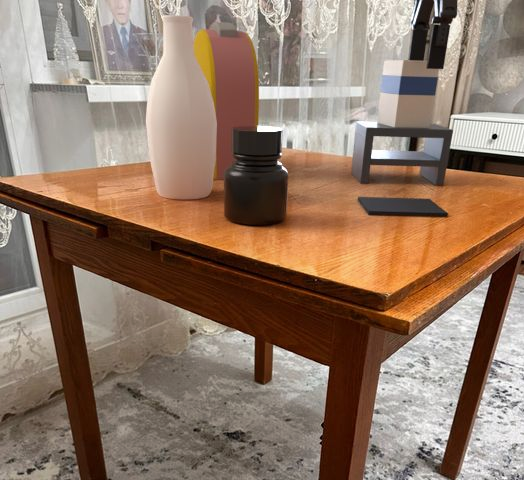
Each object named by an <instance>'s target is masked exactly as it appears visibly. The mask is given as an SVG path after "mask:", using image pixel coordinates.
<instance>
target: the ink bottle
mask: <svg viewBox="0 0 524 480" xmlns="http://www.w3.org/2000/svg"><path fill="white" fill-rule="evenodd" d="M283 131H284V130H283V129H282V128H281V127H274V126H261V125H258V126H239V127H233V128H232V157H233V158H235V161H233V162H232V163H231V165H230V166H228V167H227V168H226V169H225V172H224V179H223V215H224V218H225V219H226V220H228V221H230V222H233V223H237V224H243V225H248V226H249V225H250V226H252V225H253V226H265V225H273V224H277V223H280V222H283V221H284V220H286V218H287V215H288V214H287V213H288V195H289V194H288V193H289V173H288V170H287V168H285V167H284V166H283V164H282V163H281V162H279V160H281V158H282V153H283Z"/></svg>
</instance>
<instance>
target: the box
mask: <svg viewBox="0 0 524 480" xmlns="http://www.w3.org/2000/svg"><path fill="white" fill-rule="evenodd" d="M427 61H428V60H423V61H414V60H409V59H391V60H390V59H385V60H383V68H382V75H381V83H380V90H379V92H380V94H379V102H378V111H377V120H376V122H377V123H380V124H383V125H387V126H391V127H394V128H430V124H431V121H432V114H433V108H434V104H435V103H434V102H435V96H436V93H437V87H438V82H439V81H438V80H439V71H440V69H426V68H427Z"/></svg>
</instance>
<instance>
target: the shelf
mask: <svg viewBox="0 0 524 480" xmlns="http://www.w3.org/2000/svg"><path fill="white" fill-rule="evenodd" d="M453 134H454V129H452V128H449V127H445V126H443V125H441V124H440V125H439V124H437V123H430V128H394V127H391V126H387V125H383V124H380V123H377V121H358V120H356V121H355V128H354V139H353V148H352V160H351V168H350V169H351V170H350V173H351V174H352V176H354V178H355V179H356V180H357V181H358V183H359V184H365V185H366V184H369V181H370V171H371V166H388V167H389V166H390V167H419V172H418V173H419V174H418V175H420V176H421V177H423V178H424V179H426V180H427V181H429V182H430V183H431V184H433V185H435V186H442V187H443V186H444V183H445V179H446V173H447V167H448V163H449V155H450V150H451V145H452V140H453V139H452V138H453ZM374 137H382V138H383V137H385V138H387V137H389V138H418V139H420V138H421V139H423V138H424V143H423V149H422V150H421V151H420V150H419V151H418V150H416V151H415V150H387V149H386V150H381V149H373V147H374V145H373V144H374Z"/></svg>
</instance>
